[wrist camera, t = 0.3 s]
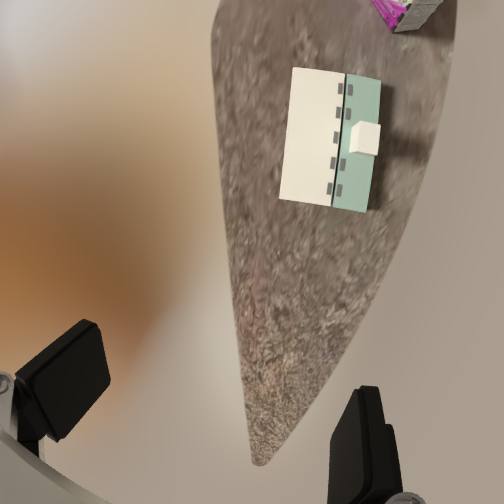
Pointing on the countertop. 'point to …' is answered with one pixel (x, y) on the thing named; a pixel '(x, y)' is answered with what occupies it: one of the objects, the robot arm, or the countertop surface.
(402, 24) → the candy bar box
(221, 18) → the countertop surface
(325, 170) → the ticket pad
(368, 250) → the countertop surface
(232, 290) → the countertop surface
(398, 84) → the countertop surface
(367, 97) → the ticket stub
